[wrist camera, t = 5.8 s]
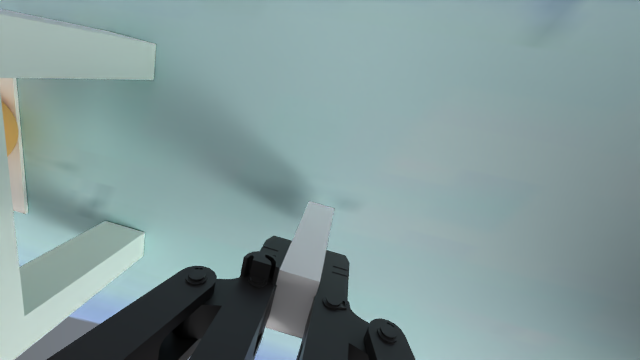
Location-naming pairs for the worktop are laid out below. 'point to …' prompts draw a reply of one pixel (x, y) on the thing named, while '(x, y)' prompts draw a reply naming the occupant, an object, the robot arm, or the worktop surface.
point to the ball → (9, 129)
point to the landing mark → (16, 157)
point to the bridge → (3, 265)
